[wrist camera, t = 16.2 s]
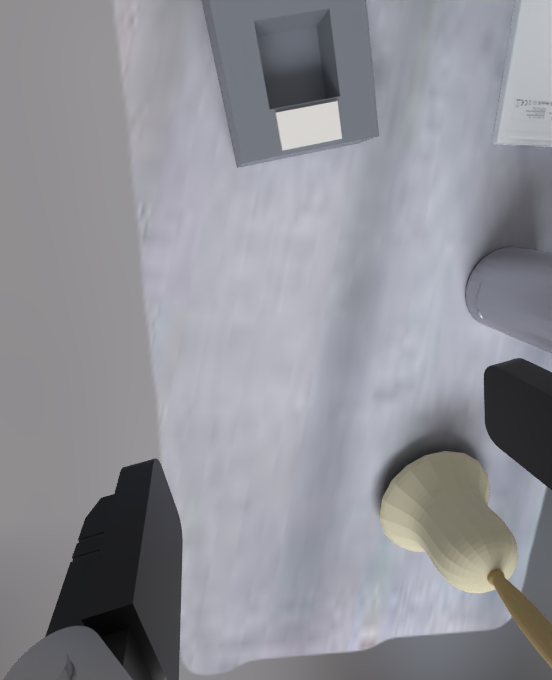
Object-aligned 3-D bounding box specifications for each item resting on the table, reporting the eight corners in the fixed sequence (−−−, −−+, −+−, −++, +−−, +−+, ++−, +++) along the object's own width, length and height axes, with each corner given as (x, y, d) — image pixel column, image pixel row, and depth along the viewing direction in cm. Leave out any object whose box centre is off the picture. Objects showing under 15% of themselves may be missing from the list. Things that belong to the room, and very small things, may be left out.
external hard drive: (584, 9, 40) (555, 148, 44) (510, 0, 39) (487, 145, 43) (599, 1, 39) (568, 146, 43) (524, -9, 37) (498, 143, 41)
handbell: (500, 470, 56) (717, 659, 33) (433, 552, 59) (591, 781, 36) (421, 425, 51) (610, 609, 28) (351, 517, 54) (472, 756, 31)
